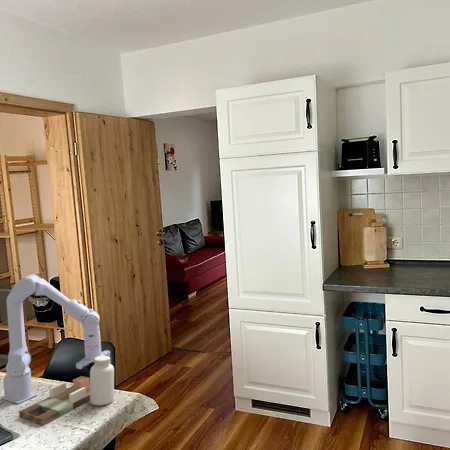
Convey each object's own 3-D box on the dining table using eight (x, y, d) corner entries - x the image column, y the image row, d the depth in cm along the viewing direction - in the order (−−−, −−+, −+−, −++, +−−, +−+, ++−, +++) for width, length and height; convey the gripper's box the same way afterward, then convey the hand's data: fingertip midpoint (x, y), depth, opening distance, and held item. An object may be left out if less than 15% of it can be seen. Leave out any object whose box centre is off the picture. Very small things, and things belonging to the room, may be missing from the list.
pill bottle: (110, 406, 148) (110, 361, 148) (86, 405, 148) (86, 361, 148) (116, 396, 156) (116, 354, 156) (94, 396, 156) (94, 353, 156)
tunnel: (49, 397, 153) (49, 388, 153) (64, 390, 158) (63, 381, 158) (72, 403, 147) (71, 394, 147) (86, 396, 152) (85, 387, 152)
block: (73, 390, 157) (72, 379, 157) (82, 386, 161) (81, 375, 160) (81, 393, 155) (80, 381, 155) (90, 388, 159) (89, 377, 158)
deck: (19, 417, 144) (19, 411, 144) (77, 388, 164) (77, 383, 164) (43, 425, 137) (42, 419, 137) (100, 395, 158) (100, 389, 157)
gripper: (84, 353, 154) (87, 391, 155) (115, 340, 167) (117, 375, 167) (71, 350, 158) (73, 387, 159) (101, 338, 170) (104, 372, 171)
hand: (95, 381), depth 163 cm, fingers closed
